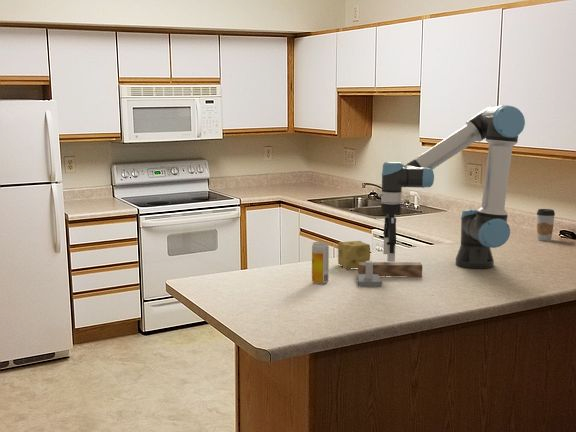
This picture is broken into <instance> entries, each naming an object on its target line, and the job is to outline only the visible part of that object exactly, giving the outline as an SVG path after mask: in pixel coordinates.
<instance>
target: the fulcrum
mask: <svg viewBox="0 0 576 432" xmlns="http://www.w3.org/2000/svg"><path fill="white" fill-rule="evenodd" d="M373 262H374V261H373V260H370V261H366V274H358V273H357V274H356V280H358V281H357V284H358V287H359V288H382V284H383V283H382V279H381V277H379V274H373Z"/></svg>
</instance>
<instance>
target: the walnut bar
mask: <svg viewBox="0 0 576 432" xmlns="http://www.w3.org/2000/svg"><path fill="white" fill-rule="evenodd" d="M372 262H373V274H379V276H385V277H384V278H387V277H386V276H407V277H406V278H423V263H421V262H420V261H418V262H417V261H416V262H414V261H409V262H407V261H406V262H405V261H404V262H403V261H401V262H399V261H397V262H396V261H395V262H387V261H386V262H385V261H381V262H380V261H379V262H378V261H372ZM357 274H366V262H358V269H357Z"/></svg>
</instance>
